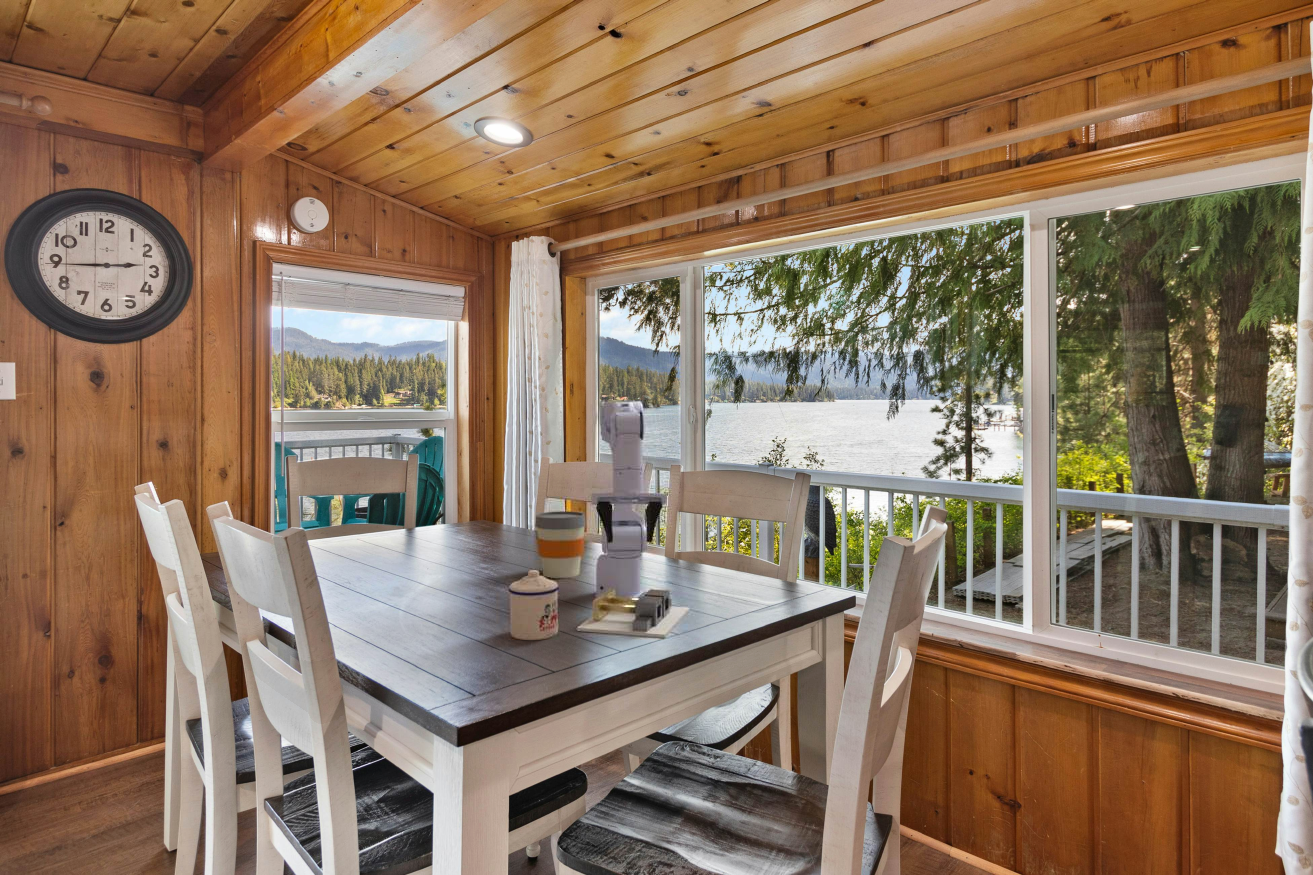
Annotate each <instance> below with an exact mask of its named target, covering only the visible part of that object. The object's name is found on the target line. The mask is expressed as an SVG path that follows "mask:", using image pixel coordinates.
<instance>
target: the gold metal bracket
mask: <svg viewBox="0 0 1313 875" xmlns="http://www.w3.org/2000/svg"><path fill="white" fill-rule="evenodd" d="M639 598H640V597H638V598H625V597H615V589H608V590H607V591H606V592H604V593H603V594H601V595H600V596H598V597H595V598H594V599H593V600H592V616H593V619H594V620H599V619H601V618H602V617H603V616H605V615H606V614H607V613H608V612H615V613H628V614H635V602H636V601H637V600H638V599H639Z"/></svg>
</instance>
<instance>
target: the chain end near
mask: <svg viewBox="0 0 1313 875" xmlns="http://www.w3.org/2000/svg"><path fill="white" fill-rule="evenodd" d="M638 598H639V599H638V600H637V601H636V602H635V619H634V620H633V631H645V632H647V631H648V630H649V629H650V628H651V627H652V626H657V625H658V624H659V623H660V622H661V621H662V597H649V596H644V595H641V596H640V597H638Z"/></svg>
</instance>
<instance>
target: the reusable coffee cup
mask: <svg viewBox="0 0 1313 875" xmlns="http://www.w3.org/2000/svg"><path fill="white" fill-rule="evenodd" d="M586 526H587V522H586V514H585V513H584V512H581V511H569V510H567V511H565V510H564V511H563V510H561V511H559V510H558V511H546V512H541V513H537V514H536V516H535V525H534V527H535V528H536V533H537V537H536V544H537V550H538V551H537V553H538V556H539V557H540V561H541V567H542V576H543V577H545V576H546V577H545V578H549V577H550V579H566V578H573V577H577V576H579V574H580V572H581V571H580V570H581V569H580V568H581V560H582V555H584V549H585V548H584V547H585V540H586V536H585V535H584V534H585V527H586Z"/></svg>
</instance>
